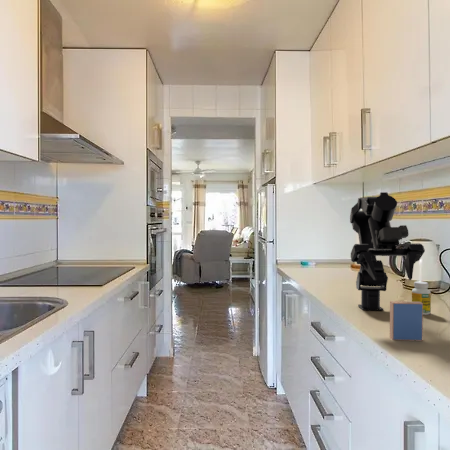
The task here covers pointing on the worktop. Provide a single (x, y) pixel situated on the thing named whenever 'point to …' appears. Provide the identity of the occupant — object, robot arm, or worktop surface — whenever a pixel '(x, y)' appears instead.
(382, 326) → the worktop surface
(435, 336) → the worktop surface
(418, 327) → the block
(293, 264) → the worktop surface
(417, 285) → the supplement bottle
